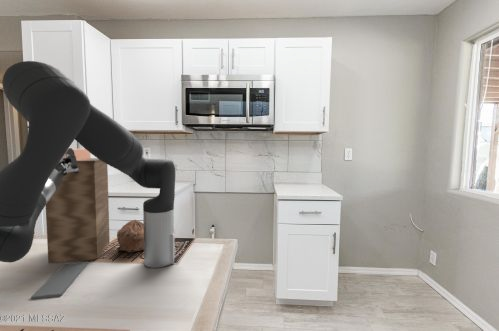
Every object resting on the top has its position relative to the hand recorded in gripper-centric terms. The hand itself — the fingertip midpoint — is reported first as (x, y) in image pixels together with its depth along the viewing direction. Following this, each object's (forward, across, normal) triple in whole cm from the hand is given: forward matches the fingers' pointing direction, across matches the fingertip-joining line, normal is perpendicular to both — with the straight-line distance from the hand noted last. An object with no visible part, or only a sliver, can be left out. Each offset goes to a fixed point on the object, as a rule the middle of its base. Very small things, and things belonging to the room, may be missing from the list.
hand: (63, 150), depth 78 cm
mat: (-25, -2, +27) cm, 37 cm away
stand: (-9, 0, +36) cm, 37 cm away
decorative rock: (-9, -17, +36) cm, 41 cm away
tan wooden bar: (+3, 0, +6) cm, 6 cm away
